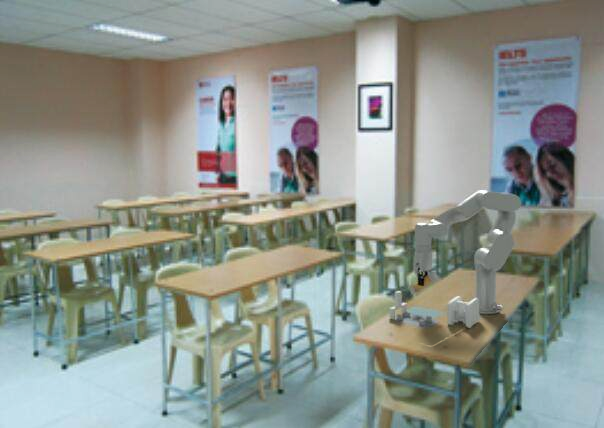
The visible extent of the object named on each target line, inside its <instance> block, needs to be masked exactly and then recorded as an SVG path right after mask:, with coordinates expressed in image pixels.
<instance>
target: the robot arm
mask: <svg viewBox="0 0 604 428" xmlns="http://www.w3.org/2000/svg"><path fill="white" fill-rule="evenodd" d="M521 206H522V200H521V198H520V197H519V196H518V195H516V194H513V193H508V192H498V191H497V192H496V191H490V190H487V189H486V190H485V189H481V190H477V191H475V192H474V193H473V194H471V195H470V196H468V197H467V198H465V199H464V200H462V201H461V202H460V203H458V204H457V205H455V206H453V207H451V208H450V209H448V210H445V211H443V212H442V213H440V214H438V215H437V216H435V217H434V218H433V219H432V220H430V221H429V222H417V223H415V225H414V242H415V244H414V245H415V246H414V247H415V251H414V255H413V257H414V258H413V271H414V275H416V278H417V282H418V285H419V286H424V277H426V276H427V274H428V273H430V272H432V269H433V256H432V238H435V239H442V238H445V237H446V236H448V233H449V226H451V225H454V224H456V223H461V222H465V221H468V220H469V219H470V218H471V219H472V217H474V216H475V215H476V214H478V213H479V212H480V211H482V210H483V209H486V210H491V211H492V210H493V211H497V217H496V219H495V221H494V222H493V225H492V227H491V229H490V230H489V232H488V234H487V236H486V242H487V244H488V245H489V247H490V248H489V247H480V248H478V249H477V250H476V251H475V253H474V255H473V257H474V258H473V260H474V261H473V262H474V268H475V269H474V270H475V298H478V299H479V314H483V315H493V314H497V313H499V312H501V311H502V312H503V311H504V306H503V305H500V304H498V301H497V300H496V299H497V296H496V295H497V293H496V292H497V274H496V273H497V272H496V271H499V270H500V269H501V268H502V267H503V266H504V265H505V264H506V262H507V260H508V258H509V256H510V254H511V252H512V250H513V249H514V245H515V237H514V235H513V234H512V233H511V232H512V230H513V228H514V225H515V223H516V219H517V218H516V217H517V215H516V212H517V211H518V210H520V208H521Z"/></svg>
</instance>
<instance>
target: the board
mask: <svg viewBox="0 0 604 428" xmlns="http://www.w3.org/2000/svg"><path fill="white" fill-rule="evenodd" d="M389 321H393V322H397V323H401V324H405V325H409V326H413V327H418V328H421V329H427V328H430V327H432V326H434V325H435V324H439V323H440V322H441V320H437V319H432V317H430V316H426V317H421V316H417V315H413V314H410V312H408V311H405V314H404V313H401V314H400V313H398V314H396V315H395V319H390V318H389Z"/></svg>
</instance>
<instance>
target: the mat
mask: <svg viewBox="0 0 604 428" xmlns="http://www.w3.org/2000/svg"><path fill="white" fill-rule="evenodd" d="M407 311H408V312H410V314H411V315H416V316H420V317H425V318H426V316H430V317H432V319H433V320H436V319H437V318H439V317H441V316H443V315H447V312H443V311H439V310H436V309H435V310H434V309H429V308H424V307H421V306H412V307H410V308H407Z"/></svg>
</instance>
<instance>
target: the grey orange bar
mask: <svg viewBox="0 0 604 428" xmlns="http://www.w3.org/2000/svg"><path fill="white" fill-rule="evenodd" d="M439 277H440V276H439V275H438V274H437V272H436V271H430V273H428V274H427V276H426V277H424V286H419V285H418V281H417V282H415V283H414V284H411V285H408V287H407V288H408V289H409V292H410V294H411V295H417V294H419V293H420V292H421V290H423V289H424V288H426V287H427V286H428V285H430V284H432V283H434V282H437V281H439V280H440V278H439Z"/></svg>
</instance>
